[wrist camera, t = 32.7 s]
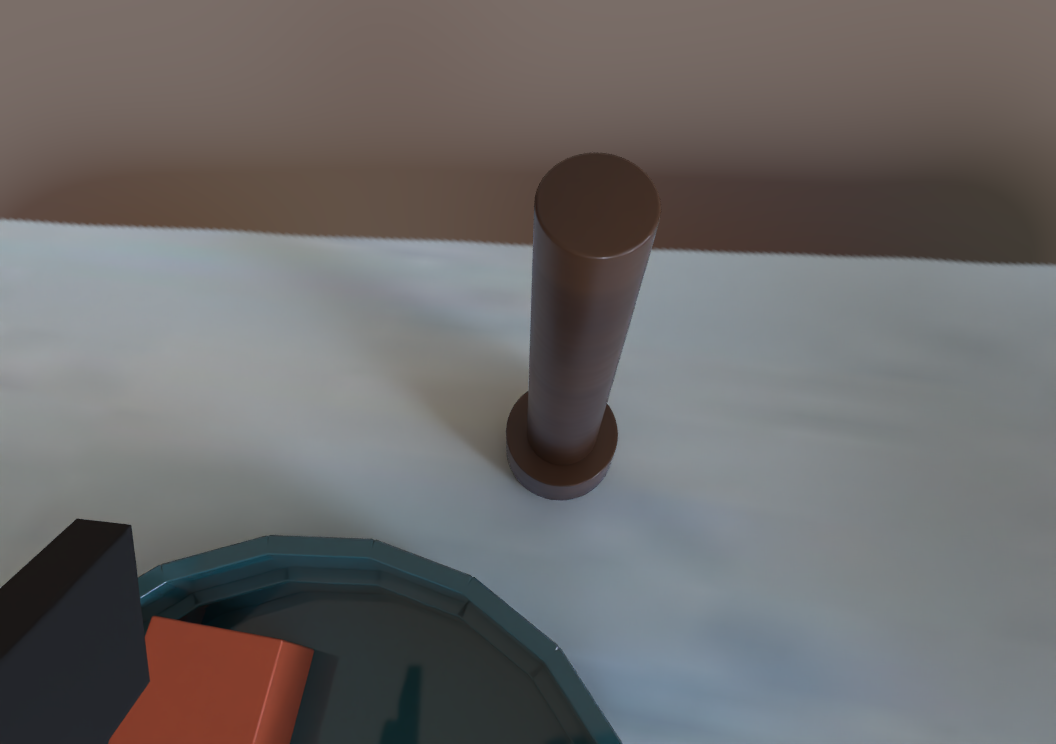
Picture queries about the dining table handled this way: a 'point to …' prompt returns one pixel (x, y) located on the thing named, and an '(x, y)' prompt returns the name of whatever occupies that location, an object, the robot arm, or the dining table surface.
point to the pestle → (580, 319)
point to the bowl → (386, 643)
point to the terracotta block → (216, 687)
